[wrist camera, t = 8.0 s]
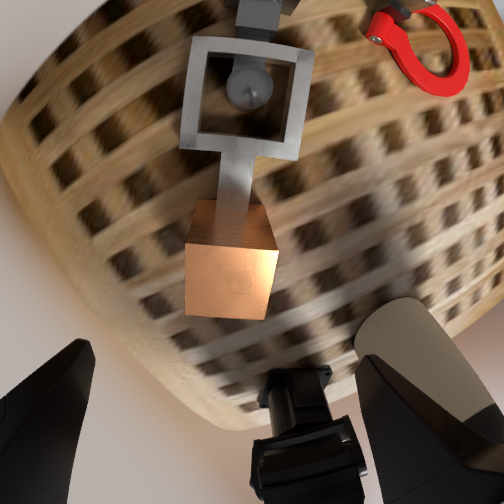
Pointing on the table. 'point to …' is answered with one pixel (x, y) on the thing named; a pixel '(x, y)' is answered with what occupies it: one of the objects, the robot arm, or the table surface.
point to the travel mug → (430, 363)
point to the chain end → (236, 186)
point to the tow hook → (394, 38)
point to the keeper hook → (258, 29)
